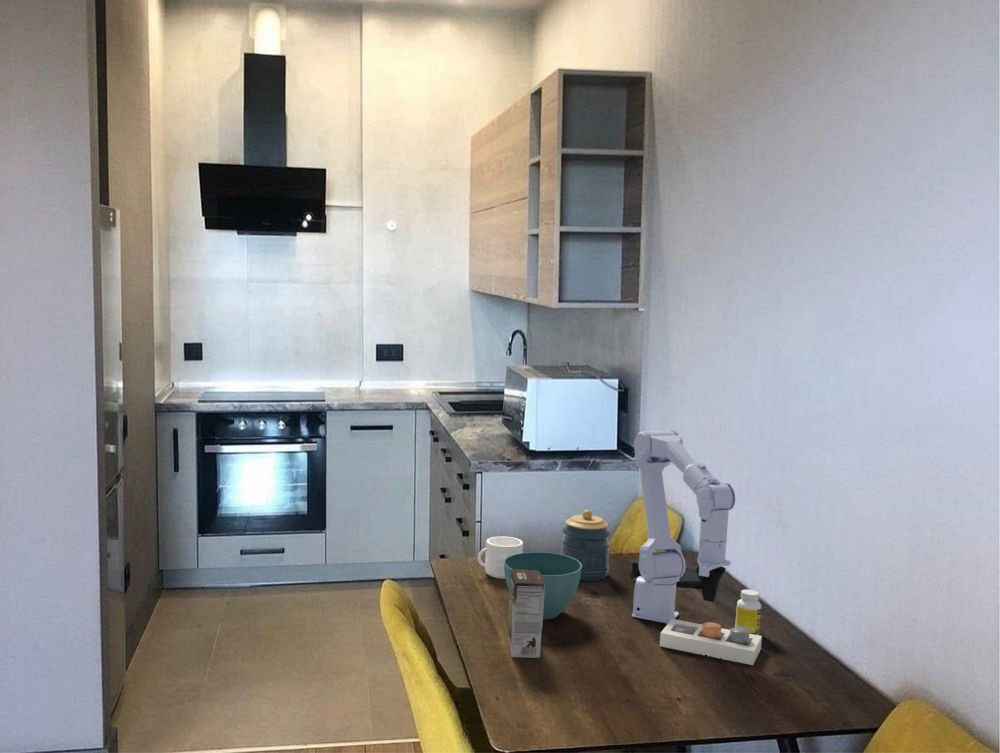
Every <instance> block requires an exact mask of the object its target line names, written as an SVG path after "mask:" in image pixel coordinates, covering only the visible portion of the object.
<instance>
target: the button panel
mask: <svg viewBox="0 0 1000 753" xmlns="http://www.w3.org/2000/svg"><path fill="white" fill-rule="evenodd" d="M677 626H687V627H690V628H692V629H693V635H690V634H685V633H680V632H675V627H677ZM702 626H703V623H702V624H700V623H695V622H691V621H687V620H686V621H685V620H680V619H677V618H675V619H671V620H670V622H669V623H668V624H667V623H666V626H665V627H664V628H663V629H662V630H661V631H660V633H659V635H660V636H659V647H661V648H662V647H663V648H667V649H672V650H677V651H682V652H685V653H690V652H691V654H697V655H700V654H701V655H700V656H705V655H707V656H706V657H710V656H711V657H710V658H716V659H720V658H721V659H720V660H726V661H730V662H735V663H740V664H746V665H751V666H754V664H755V662H756V660H757V658H758V656H759V654H760V652H761V650H762V640H763V639H762V638H763V636H762V635H760V634H759V635H754V634H749V644H748V646H746V645H741V644H736V643H731V642H729V641H730V629H727V628H722V627H721V638H720V640H715V639H710V638H705V637H702Z"/></svg>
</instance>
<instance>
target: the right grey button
mask: <svg viewBox="0 0 1000 753" xmlns="http://www.w3.org/2000/svg"><path fill="white" fill-rule="evenodd" d="M729 630H730V641H729V642H731V643H736V644H741V645H746V646H748V644H749V631H748V630H746V629H744V628H735V627H731V628H730V629H729Z"/></svg>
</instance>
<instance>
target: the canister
mask: <svg viewBox="0 0 1000 753" xmlns="http://www.w3.org/2000/svg"><path fill="white" fill-rule="evenodd" d="M565 524H566V526H564V527H562V529H561V532H562V534H563V538H562V540H561V550H560V551H561V552H560V554H562V555H566V556H569V557H572V558H574V559H576V560H578V561H579V562H580V563H581V564H582V570H581V576H580V580H579V582H598V581H602V580H604V579H606V578H607V577H608V575H609V574H608V573H609V569H610V568H609V556H610V554H609V553H610V547H611V544H610V542H609V538H610V537H611V535H612V533H611V531H610V530H609V529H608V526H609V522H607V521H605V519H603V518H602V517H600V516H597V515H593V512H592V511H591V510H589V509H585V510H584V511H582V514H574V515H572V516H571V517H569V518H567V519H566V520H565Z"/></svg>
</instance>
